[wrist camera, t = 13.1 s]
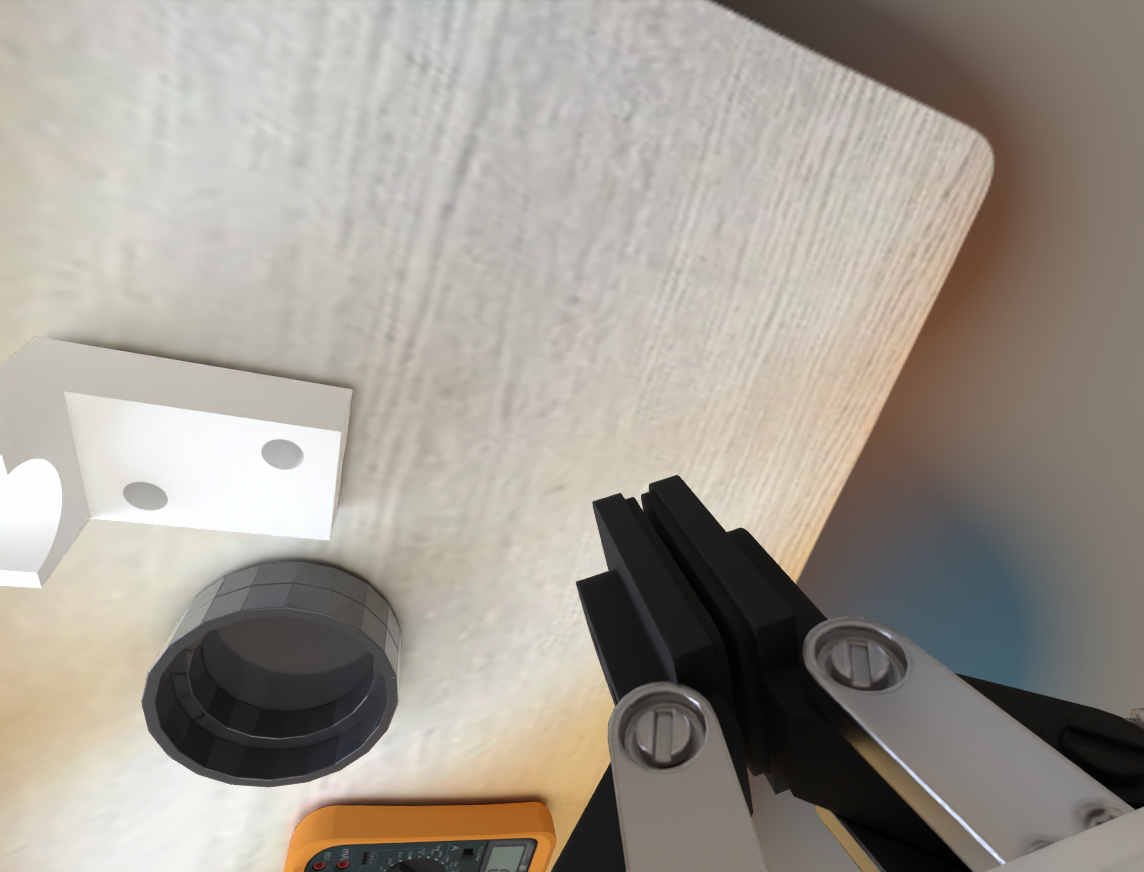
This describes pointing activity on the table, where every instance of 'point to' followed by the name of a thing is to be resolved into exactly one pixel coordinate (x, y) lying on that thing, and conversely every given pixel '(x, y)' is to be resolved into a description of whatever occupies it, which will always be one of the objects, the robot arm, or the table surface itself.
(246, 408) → the bracket
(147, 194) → the table surface
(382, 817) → the multimeter
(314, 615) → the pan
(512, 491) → the table surface
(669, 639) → the robot arm
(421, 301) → the table surface
